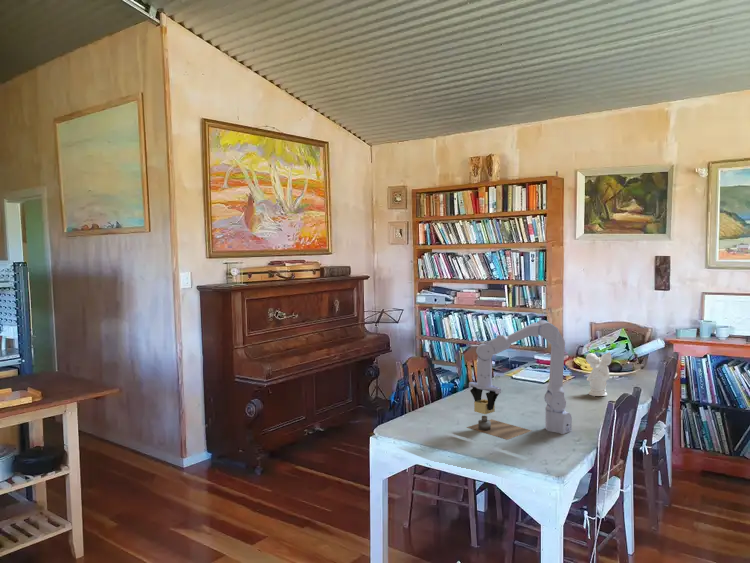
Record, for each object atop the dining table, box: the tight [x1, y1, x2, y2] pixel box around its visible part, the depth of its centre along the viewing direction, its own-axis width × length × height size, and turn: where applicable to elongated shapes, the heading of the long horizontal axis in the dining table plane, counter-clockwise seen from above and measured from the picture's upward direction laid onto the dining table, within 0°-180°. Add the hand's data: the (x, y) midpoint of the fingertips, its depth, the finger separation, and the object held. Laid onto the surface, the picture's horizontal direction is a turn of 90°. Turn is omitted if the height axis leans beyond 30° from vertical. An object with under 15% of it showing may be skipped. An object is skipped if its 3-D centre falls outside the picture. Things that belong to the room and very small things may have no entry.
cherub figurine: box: [585, 351, 612, 397], centre depth 281 cm, size 12×12×22 cm
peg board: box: [466, 415, 533, 441], centre depth 226 cm, size 20×16×6 cm
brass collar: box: [473, 398, 496, 415], centre depth 226 cm, size 6×6×4 cm
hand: (484, 408), depth 226 cm, fingers closed on brass collar, 6 cm apart
